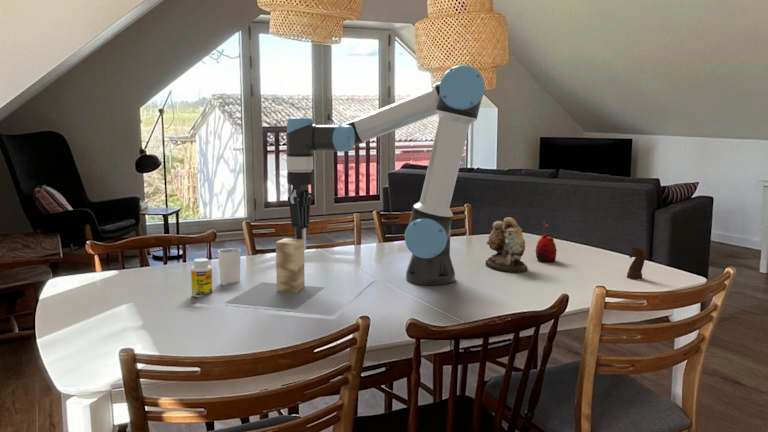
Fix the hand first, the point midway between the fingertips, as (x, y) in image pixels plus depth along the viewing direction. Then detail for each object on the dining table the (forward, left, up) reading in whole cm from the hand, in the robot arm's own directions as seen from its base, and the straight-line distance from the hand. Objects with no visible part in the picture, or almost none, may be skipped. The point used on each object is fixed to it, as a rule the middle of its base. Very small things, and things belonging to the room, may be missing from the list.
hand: (300, 249), depth 188 cm
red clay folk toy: (-70, -55, -11) cm, 90 cm away
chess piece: (-98, -38, -11) cm, 106 cm away
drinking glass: (+21, +5, -11) cm, 24 cm away
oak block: (0, +8, -10) cm, 13 cm away
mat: (+1, +15, -11) cm, 18 cm away
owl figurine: (-57, -41, -11) cm, 71 cm away
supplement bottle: (+22, +19, -11) cm, 31 cm away
